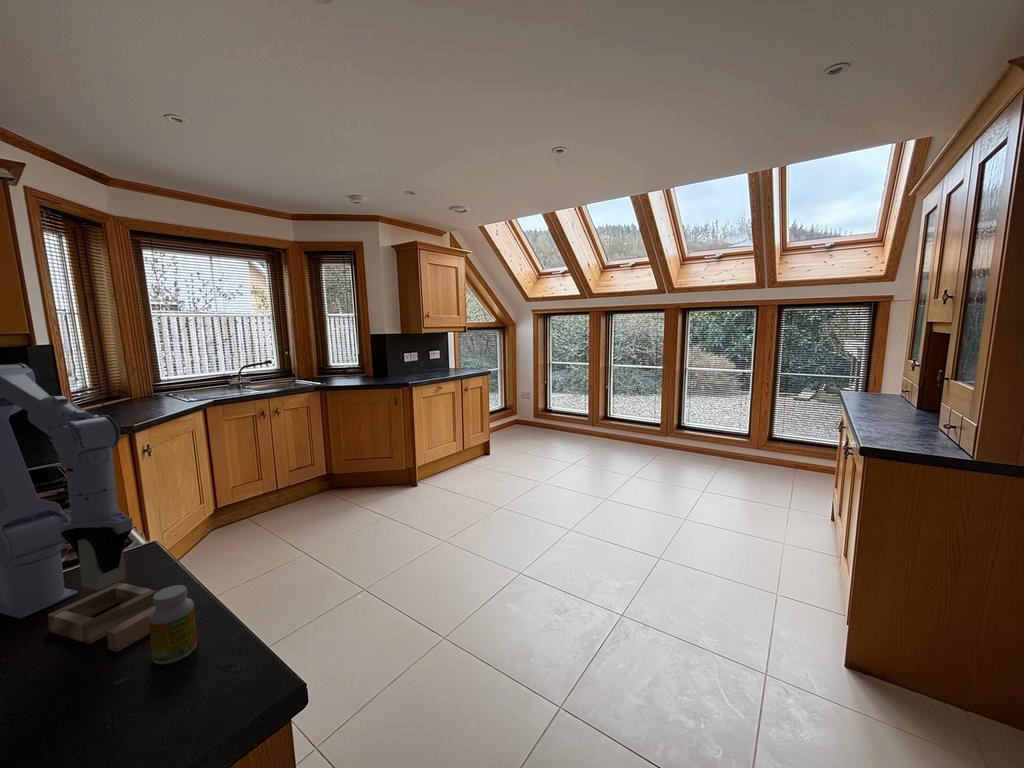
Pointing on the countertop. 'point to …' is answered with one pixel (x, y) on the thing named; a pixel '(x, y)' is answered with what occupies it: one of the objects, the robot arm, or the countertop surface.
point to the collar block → (77, 615)
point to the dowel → (96, 568)
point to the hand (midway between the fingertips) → (101, 568)
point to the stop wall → (129, 631)
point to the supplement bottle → (172, 625)
